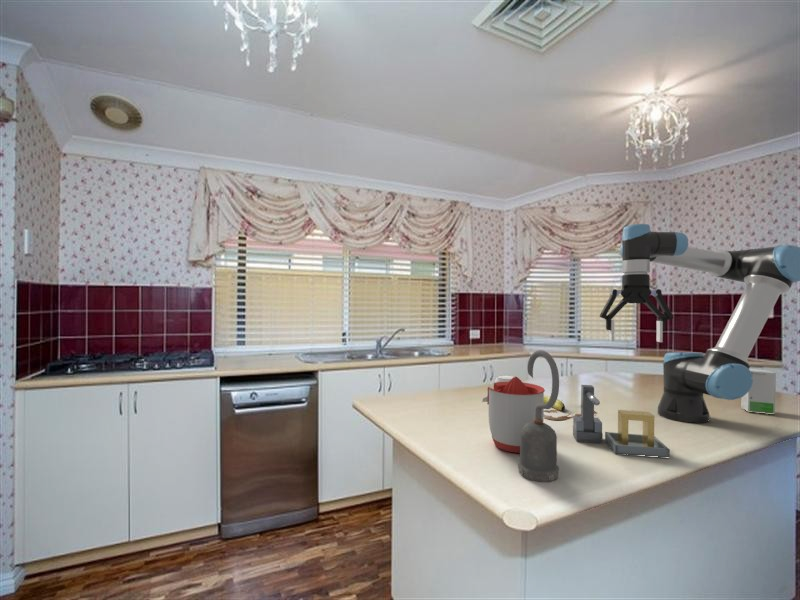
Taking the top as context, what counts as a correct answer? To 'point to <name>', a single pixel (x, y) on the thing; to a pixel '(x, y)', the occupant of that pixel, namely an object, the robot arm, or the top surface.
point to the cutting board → (559, 407)
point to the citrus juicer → (512, 411)
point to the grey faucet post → (587, 418)
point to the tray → (636, 446)
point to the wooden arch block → (638, 416)
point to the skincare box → (761, 392)
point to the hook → (540, 434)
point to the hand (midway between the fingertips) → (635, 341)
